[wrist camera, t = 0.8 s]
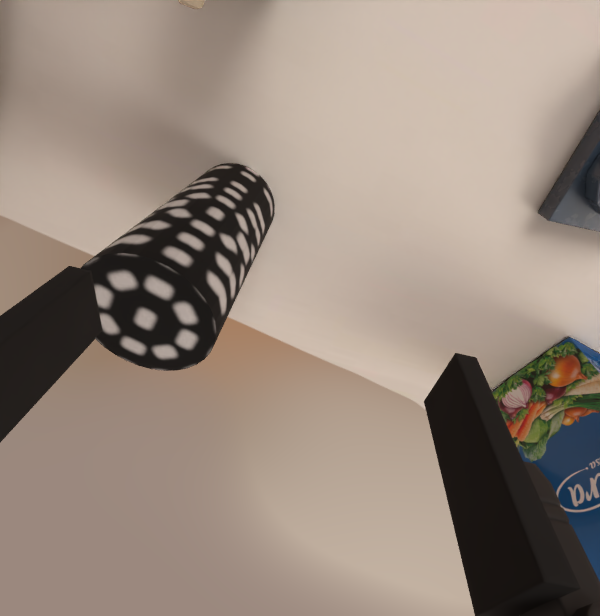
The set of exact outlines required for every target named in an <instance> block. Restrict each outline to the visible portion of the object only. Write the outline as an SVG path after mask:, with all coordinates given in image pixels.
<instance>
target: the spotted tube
mask: <svg viewBox="0 0 600 616" xmlns="http://www.w3.org/2000/svg"><path fill="white" fill-rule="evenodd" d="M273 216H274V200H273V196H272V193H271V190H270V189H269V187H268V185H267V183H266V182H265V181H264V180H263V179H262V177H261V176H260V175H258V174H257V173H256V172H255V171H253V170H252V169H250V168H248V167H246V166H243V165H240V164H233V163H226V164H220V165H218V166H215V167H213V168H212V169H210V170H209V171H207V172H206V173H205V174H203V175H202V176H201V177H199V178H198V179H197V180H195V181H194V182H193V183H191V184H190V185H189V186H187V187H186V188H185V189H183V190H182V191H181V192H179V193H178V194H177V195H175V196H174V197H173V198H171V199H170V200H169V201H167V202H166V203H165V204H163V205H162V206H161V207H159V208H158V209H157V210H155V211H154V212H153V213H152V214H150V215H149V216H148V217H146V218H145V219H144V220H142V221H141V222H140V223H138V224H137V225H136V226H134V227H133V228H132V229H130V230H129V231H128V232H126V233H125V234H124V235H122V236H121V237H120V238H118V239H117V240H116V241H114V242H113V243H112V244H110V245H109V246H108V247H106V248H105V249H104V250H102V251H101V252H100V253H98V254H97V255H96V256H94V257H93V258H92V259H91V260H89V261H88V262H87V263H85V264H84V265H83V266H82V267H81V269H85V270H89V271H91V272H92V278H93V283H94V288H95V293H96V298H97V303H98V309H99V314H100V319H101V324H102V329H103V331H102V332H101V333H100V334H99V335H98V336H97V337H96V338H95V339H96V340H97V341H98V342H99V343H100V344H101V345H103V346H104V347H105V348H107V349H108V350H109V351H111V352H112V353H114V354H115V355H117V356H119V357H121V358H123V359H125V360H126V361H129V362H131V363H134V364H136V365H139V366H143V367H146V368H150V369H156V370H164V371H165V370H166V371H168V370H181V369H186V368H189V367H191V366H194V365H196V364H198V363H199V362H201V361H202V360H204V359H205V358H206V357H207V356H208V354H209V353H210V352H211V350H212V348H213V346H214V344H215V342H216V340H217V337H218V335H219V333H220V331H221V329H222V327H223V325H224V322H225V320H226V318H227V316H228V314H229V312H230V310H231V308H232V306H233V303H234V301H235V299H236V297H237V295H238V293H239V291H240V289H241V286H242V284H243V282H244V280H245V278H246V276H247V274H248V272H249V269H250V267H251V265H252V263H253V261H254V259H255V257H256V254H257V252H258V250H259V248H260V246H261V244H262V242H263V240H264V237H265V235H266V233H267V231H268V229H269V227H270V225H271V223H272V220H273Z"/></svg>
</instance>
